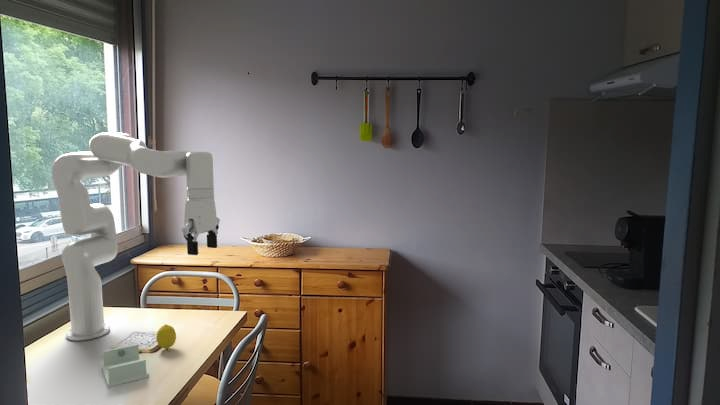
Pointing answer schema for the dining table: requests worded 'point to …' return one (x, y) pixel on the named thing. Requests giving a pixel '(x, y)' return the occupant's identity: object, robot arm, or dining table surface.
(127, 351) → the holder
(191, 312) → the dining table surface
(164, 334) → the lemon
